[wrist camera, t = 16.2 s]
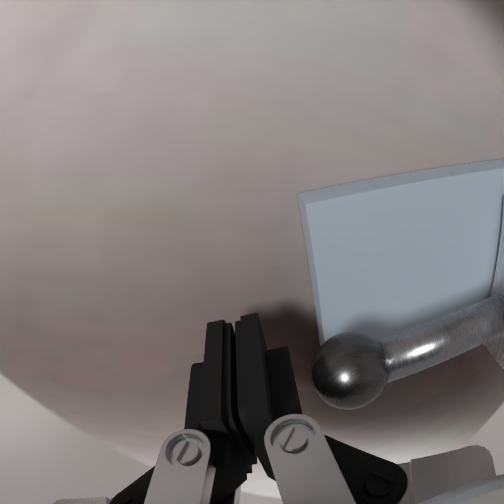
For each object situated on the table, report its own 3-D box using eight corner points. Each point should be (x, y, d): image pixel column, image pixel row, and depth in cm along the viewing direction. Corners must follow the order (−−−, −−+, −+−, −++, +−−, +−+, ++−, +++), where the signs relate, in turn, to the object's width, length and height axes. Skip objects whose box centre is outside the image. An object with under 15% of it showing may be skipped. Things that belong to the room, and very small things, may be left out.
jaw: (282, 243, 9) (314, 335, 5) (534, 186, 8) (603, 222, 5) (309, 399, 12) (329, 480, 8) (508, 324, 11) (551, 372, 8)
